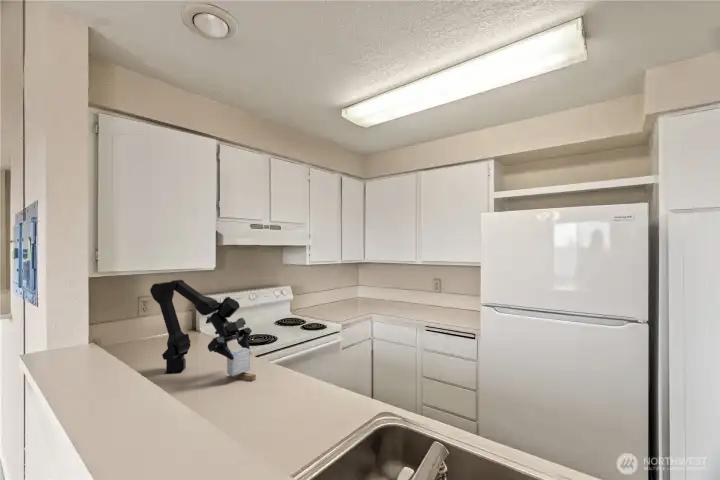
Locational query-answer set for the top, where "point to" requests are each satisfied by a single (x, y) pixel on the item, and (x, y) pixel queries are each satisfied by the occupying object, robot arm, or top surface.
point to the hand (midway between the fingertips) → (241, 355)
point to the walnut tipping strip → (245, 376)
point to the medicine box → (239, 361)
